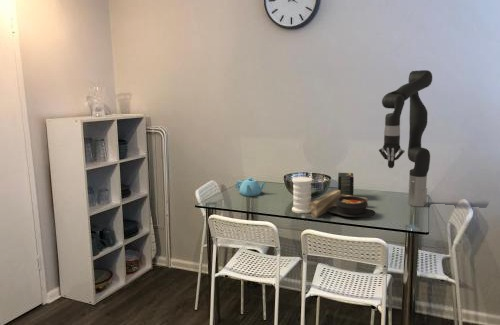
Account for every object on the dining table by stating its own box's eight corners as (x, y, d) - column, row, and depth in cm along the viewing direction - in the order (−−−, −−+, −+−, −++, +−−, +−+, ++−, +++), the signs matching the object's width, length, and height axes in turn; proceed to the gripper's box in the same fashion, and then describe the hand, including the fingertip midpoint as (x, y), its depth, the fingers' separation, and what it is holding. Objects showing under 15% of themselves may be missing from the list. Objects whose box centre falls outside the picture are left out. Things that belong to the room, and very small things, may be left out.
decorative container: (308, 206, 240) (308, 176, 236) (315, 212, 228) (315, 180, 225) (289, 208, 237) (289, 177, 234) (295, 214, 226) (295, 182, 222)
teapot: (252, 189, 279) (252, 174, 277) (267, 194, 268) (266, 177, 265) (234, 193, 270) (233, 177, 268) (248, 198, 259) (247, 181, 256)
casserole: (377, 211, 227) (377, 197, 226) (373, 222, 211) (373, 206, 209) (331, 207, 237) (331, 193, 235) (324, 217, 220) (324, 202, 219)
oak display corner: (367, 206, 236) (367, 193, 235) (343, 223, 211) (343, 208, 209) (337, 201, 247) (337, 188, 246) (311, 216, 222) (311, 202, 220)
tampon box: (353, 200, 249) (354, 176, 246) (337, 199, 251) (338, 176, 248) (352, 195, 259) (353, 172, 257) (337, 194, 261) (338, 172, 258)
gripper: (407, 133, 208) (406, 167, 212) (381, 132, 216) (380, 165, 219) (403, 135, 202) (401, 170, 206) (376, 134, 210) (375, 167, 213)
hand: (390, 167), depth 212 cm, fingers closed
